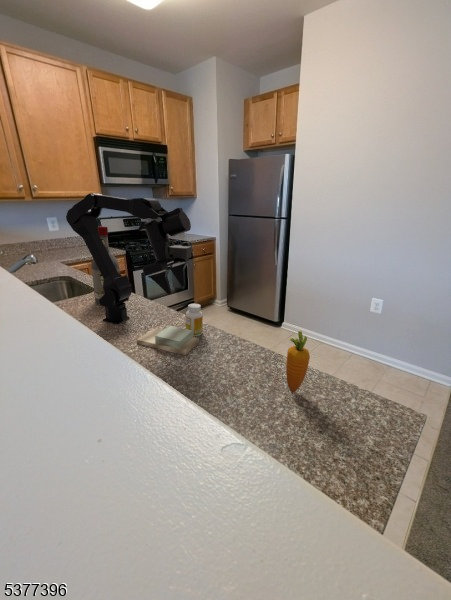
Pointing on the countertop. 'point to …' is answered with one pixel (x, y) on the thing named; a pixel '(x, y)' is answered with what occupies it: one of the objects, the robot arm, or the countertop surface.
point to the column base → (151, 342)
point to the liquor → (95, 271)
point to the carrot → (297, 362)
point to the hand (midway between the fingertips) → (177, 289)
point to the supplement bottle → (194, 319)
